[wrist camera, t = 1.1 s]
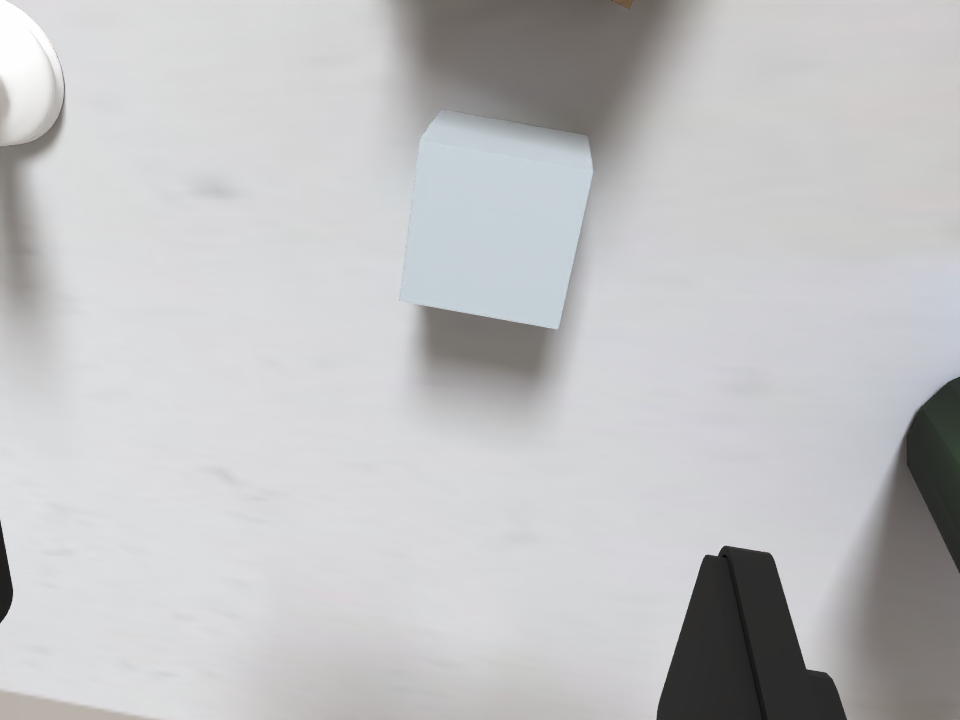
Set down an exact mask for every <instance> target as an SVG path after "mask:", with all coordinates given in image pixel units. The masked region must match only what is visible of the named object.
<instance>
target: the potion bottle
mask: <svg viewBox="0 0 960 720" xmlns="http://www.w3.org/2000/svg"><path fill="white" fill-rule="evenodd" d="M907 465H908V467H909V469H910V471H911V473H912V475H913V477H914V479H915V482H916V484H917V486H918V488H919V490H920V492H921V494H922V496H923V498H924V500H925V502H926V504H927V506H928V509H929V511H930V513H931V515H932V517H933V519H934V521H935V523H936V525H937V527H938V529H939V531H940V533H941V535H942V538H943V540H944V542H945V544H946V546H947V548H948V550H949V552H950V554H951V556H952V558H953V560H954V562H955V564H956V567H957V569H958V571H959V573H960V377H958V378H956V379H954V380H952V381H950V382H948V383H947V384H946V385H945V386H943V387H942V388H941V389H940V390H939V391H938V392H937V393H936V394H935V395H934V396H933V397H932V398H931V399H930V400H929V401H928V402H927V403H925V404H924V405H923V406H922V407H921V409H920V411H919V413H918V415H917V418H916V420H915V422H914V424H913V426H912V428H911V430H910V432H909V434H908V436H907Z"/></svg>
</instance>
